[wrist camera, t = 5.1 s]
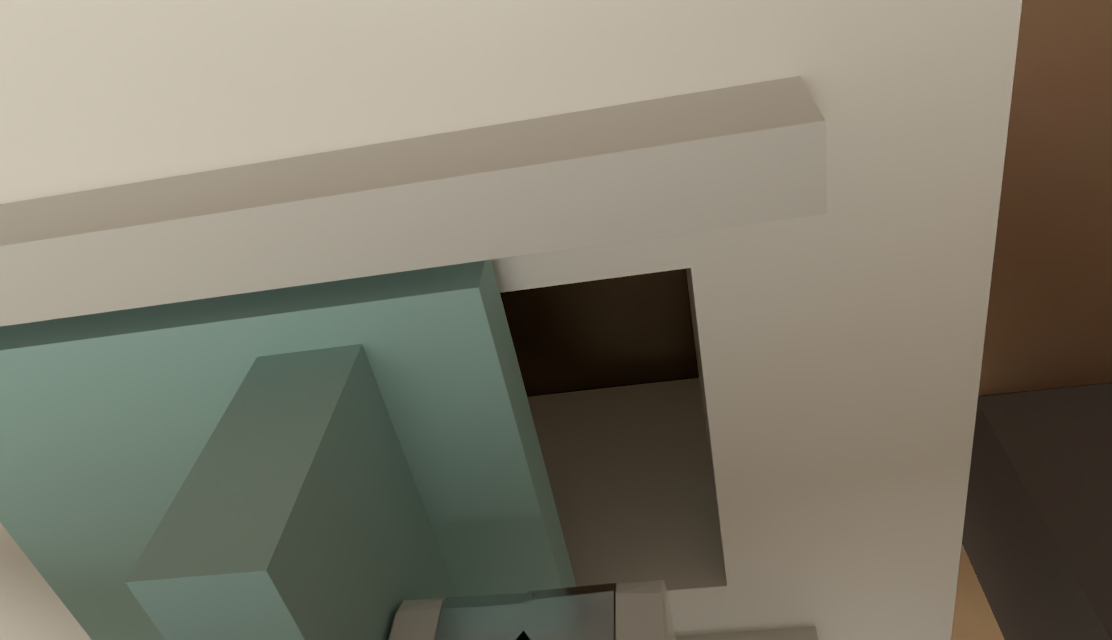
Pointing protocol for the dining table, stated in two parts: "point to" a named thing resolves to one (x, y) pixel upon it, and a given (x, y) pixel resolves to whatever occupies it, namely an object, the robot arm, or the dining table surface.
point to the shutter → (277, 459)
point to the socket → (576, 246)
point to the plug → (1043, 511)
